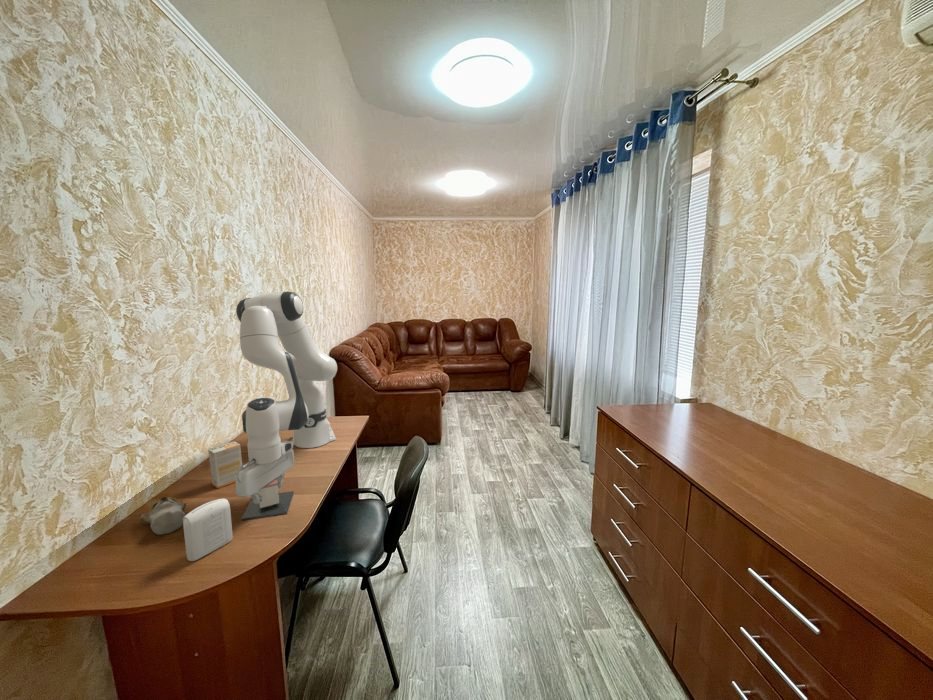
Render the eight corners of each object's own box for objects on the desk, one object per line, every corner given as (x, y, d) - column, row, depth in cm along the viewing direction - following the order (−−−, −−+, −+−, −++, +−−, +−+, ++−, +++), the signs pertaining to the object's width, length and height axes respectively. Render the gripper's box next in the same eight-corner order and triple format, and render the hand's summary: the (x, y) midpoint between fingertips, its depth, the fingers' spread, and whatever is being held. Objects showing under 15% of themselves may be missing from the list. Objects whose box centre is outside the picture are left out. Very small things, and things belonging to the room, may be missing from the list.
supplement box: (237, 475, 131) (234, 440, 129) (244, 479, 128) (240, 444, 126) (211, 484, 124) (207, 448, 122) (217, 489, 121) (213, 452, 119)
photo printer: (227, 534, 99) (222, 492, 97) (236, 539, 97) (232, 496, 95) (183, 558, 90) (177, 512, 88) (192, 564, 88) (187, 517, 86)
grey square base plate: (253, 497, 117) (251, 480, 116) (294, 492, 120) (292, 475, 119) (241, 520, 105) (239, 501, 104) (287, 513, 109) (285, 495, 108)
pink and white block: (258, 499, 113) (257, 479, 112) (277, 494, 116) (276, 475, 115) (259, 508, 109) (258, 487, 108) (279, 503, 112) (277, 483, 111)
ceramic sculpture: (141, 515, 93) (134, 495, 103) (145, 546, 94) (138, 524, 104) (192, 498, 101) (181, 482, 111) (196, 527, 102) (184, 508, 112)
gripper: (246, 470, 99) (250, 516, 101) (296, 440, 119) (299, 479, 121) (227, 467, 101) (231, 513, 103) (280, 438, 120) (282, 477, 122)
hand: (268, 494), depth 112 cm, fingers closed on pink and white block, 7 cm apart
